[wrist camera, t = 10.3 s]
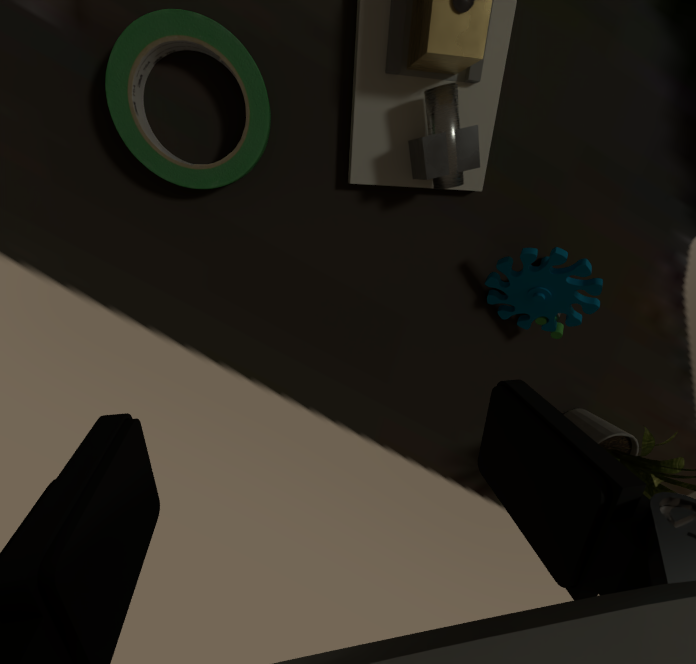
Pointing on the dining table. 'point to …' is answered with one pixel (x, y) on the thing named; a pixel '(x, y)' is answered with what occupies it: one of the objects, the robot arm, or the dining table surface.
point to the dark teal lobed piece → (544, 290)
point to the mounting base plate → (415, 94)
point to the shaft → (444, 141)
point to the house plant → (632, 452)
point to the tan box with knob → (447, 34)
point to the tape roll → (130, 77)
